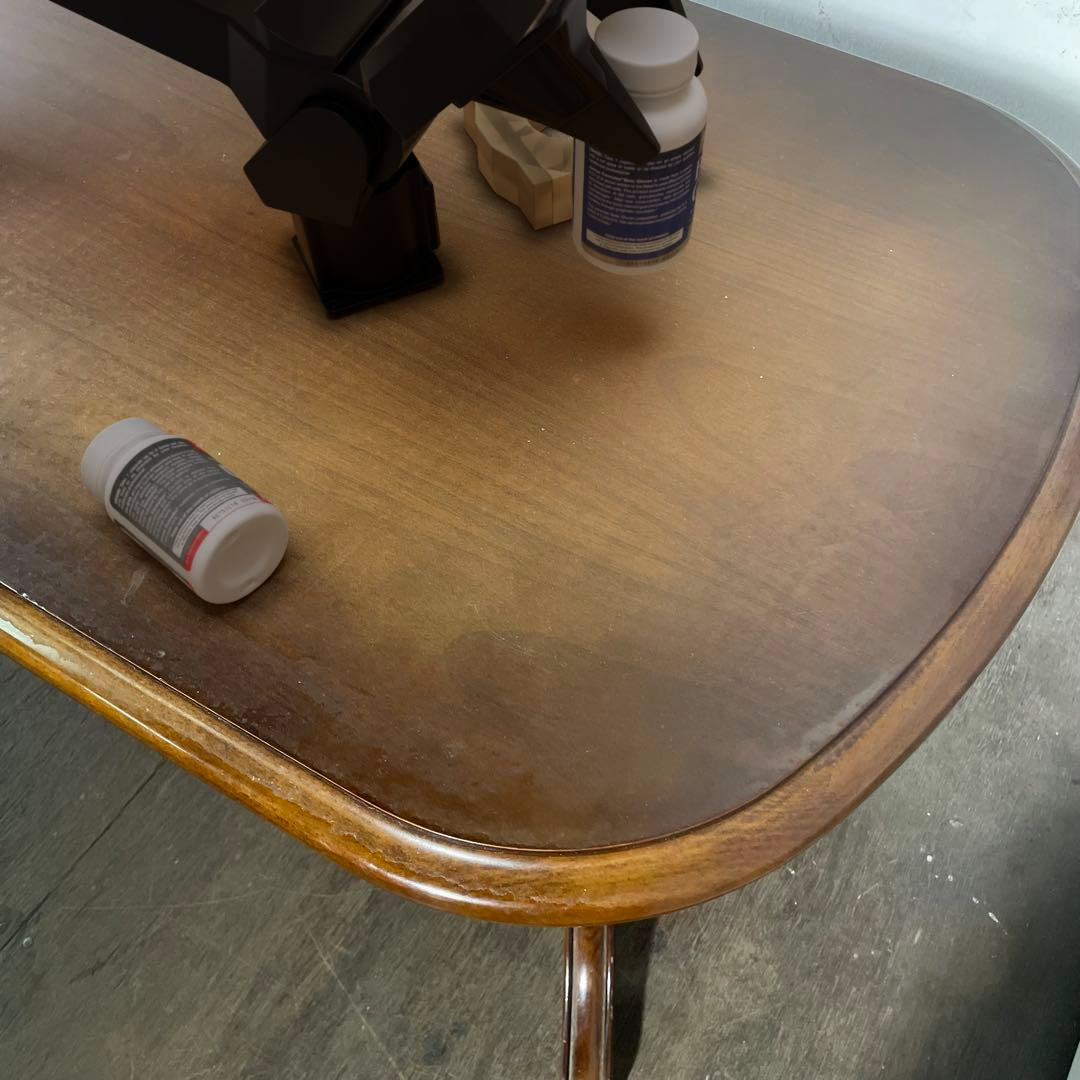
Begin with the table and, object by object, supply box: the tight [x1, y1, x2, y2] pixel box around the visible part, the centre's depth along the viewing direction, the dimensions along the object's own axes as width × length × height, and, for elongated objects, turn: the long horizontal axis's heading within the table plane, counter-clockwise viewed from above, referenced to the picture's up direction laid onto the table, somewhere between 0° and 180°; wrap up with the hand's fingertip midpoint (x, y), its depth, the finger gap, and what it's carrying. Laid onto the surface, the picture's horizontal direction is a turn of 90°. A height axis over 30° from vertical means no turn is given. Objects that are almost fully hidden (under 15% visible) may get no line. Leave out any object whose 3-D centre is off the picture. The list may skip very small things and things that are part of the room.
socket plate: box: [462, 101, 573, 231], centre depth 60 cm, size 11×11×3 cm
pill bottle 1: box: [79, 417, 290, 605], centre depth 44 cm, size 5×5×8 cm
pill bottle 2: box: [570, 7, 709, 276], centre depth 44 cm, size 5×5×10 cm
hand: (673, 117), depth 42 cm, fingers closed on pill bottle 2, 5 cm apart
